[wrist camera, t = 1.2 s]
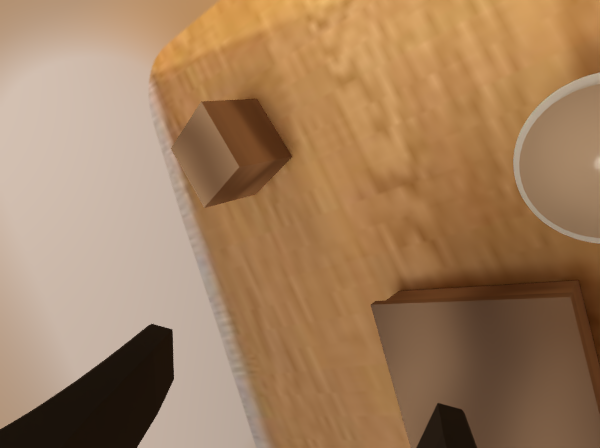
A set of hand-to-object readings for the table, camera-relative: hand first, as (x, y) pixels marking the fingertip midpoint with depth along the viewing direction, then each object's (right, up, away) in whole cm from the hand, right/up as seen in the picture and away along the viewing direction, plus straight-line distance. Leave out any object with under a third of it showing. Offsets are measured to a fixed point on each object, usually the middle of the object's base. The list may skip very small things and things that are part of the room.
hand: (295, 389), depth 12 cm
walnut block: (-3, +9, +17) cm, 20 cm away
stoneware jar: (+12, +8, +4) cm, 15 cm away
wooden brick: (+10, -4, +10) cm, 15 cm away
